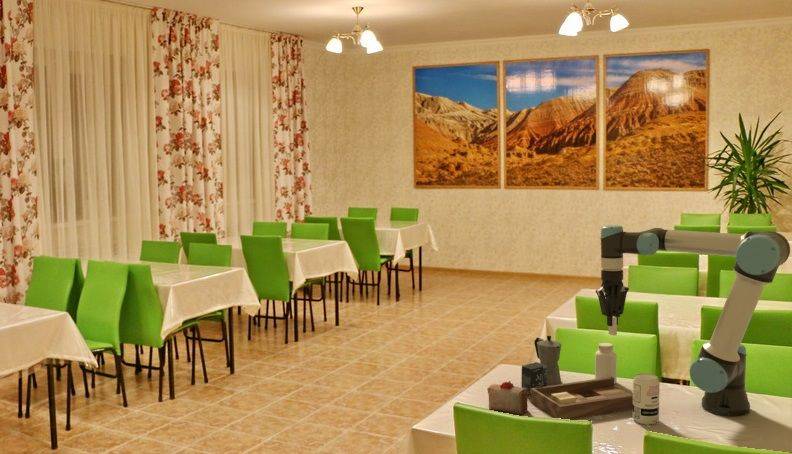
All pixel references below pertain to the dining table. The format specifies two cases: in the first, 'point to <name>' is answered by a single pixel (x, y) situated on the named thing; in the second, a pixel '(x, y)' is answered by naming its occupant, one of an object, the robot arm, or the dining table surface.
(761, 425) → the dining table surface
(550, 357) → the coffeepot
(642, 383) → the supplement can
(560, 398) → the block
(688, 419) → the dining table surface
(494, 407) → the food item
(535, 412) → the dining table surface
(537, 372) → the box
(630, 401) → the divided wooden tray
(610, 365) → the pill bottle
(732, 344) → the robot arm
